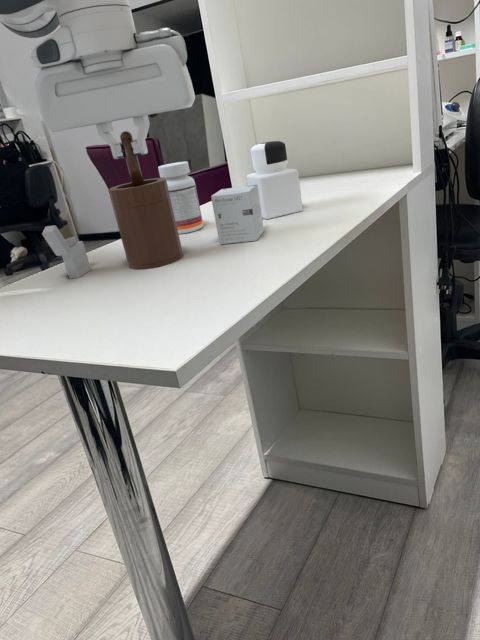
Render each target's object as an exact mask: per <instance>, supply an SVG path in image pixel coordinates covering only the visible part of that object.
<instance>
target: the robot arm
mask: <svg viewBox="0 0 480 640" xmlns="http://www.w3.org/2000/svg"><path fill="white" fill-rule="evenodd" d="M0 23H1V25H3V27H5V28H6V29H7V30H8V31H10V32H11V33H13V34H15V35H17V36H20V37H23V38H27V39H39V38H43V37H46V36H47V37H46V38H44V39H43V40H42V41H40V42H38V43H37V44H36V45H34V46H33V47H31V49H29V52H28V56H29V60H30V63H31V65H32V66H33V67H34V68H37V69H39V70H38V71H37V72H36V73H35V76H34V91H35V96H36V101H37V104H38V109H39V112H40V115H41V119H42V122H43V124H44V126H45V127H46V128H47V129H49V131H51V132H52V133H56V132H62V131H69V130H73V129H79V128H84V127H89V126H95V127H96V131H97V133H98V135H99V136H100V137H101V138H102V140H103V141H104V142H105V143H106V145H108V146H109V147H110V150H111V151H110V152H111V155H112V158H113V159H114V160H120V159H124V158H125V154H124V151H123V147H122V143H120V142H119V141H118V140H117V139H116V138H115V136H114V135H113V134H112V133H111V132H113V131H114V126H113V123H112V122H117V121H121V120H128V119H132V120H133V125H134V127H135V128H136V127H138V131H137V136H136V140H133V141H134V142H131V145H132V148H133V153H134V155H135V156H136V155H137V156H141V155H142V156H143V155H147V154H148V153H149V150H148V145H147V141H146V140H147V136H148V133H149V129H150V125H151V123H150V119H149V116H150V115H155V114H160V113H165V112H171V111H177V110H182V109H187V108H191V107H192V106H193V104H194V102H195V100H196V94H195V91H194V87H193V82H192V79H191V76H190V72H189V70H188V66H187V64H186V63H187V60H188V51H187V45H186V42H185V39H184V37H183V36H182V34H181V33H180V32H178V31H176V30H173V29H171V28H170V27H161V28H159V29H157V30H146V31H142V32H137V31H136V30H137V29H136V26H135V21H134V16H133V12H132V8H131V4H130V2H129V0H0ZM58 27H59V28H58ZM57 28H58V29H57ZM56 29H57V30H56ZM48 35H49V36H48ZM172 35H174V36H172ZM125 159H126V158H125Z"/></svg>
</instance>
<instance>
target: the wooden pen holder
mask: <svg viewBox="0 0 480 640" xmlns="http://www.w3.org/2000/svg"><path fill="white" fill-rule="evenodd" d="M143 181H144V185H141V186H135V187H133V186H132V182H130V181H129V182H127V183H122V184H118V185H116V186H112V187H110V188H108V189H107V191H108V194H109V199H110V202H111V205H112V206H111V207H112V209H113V213H114V216H115V220H116V224H117V227H118V231H119V235H120V238H121V242H122V247H123V249H124V253H125V257H126V261H127V264H128V267H129V268H130V269H133V270H146V269H154V268H159V267H163V266H166V265H171V264H173V263H175V262H177V261H179V260H180V259H182V258H183V257H184V253H183V248H182V243H181V239H180V234H178V230H177V225H176V221H175V216H174V212H173V208H172V203H171V199H170V194H169V190H168V186H167V181H166V178H160V177H155V178H147V179H143Z"/></svg>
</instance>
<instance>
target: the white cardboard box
mask: <svg viewBox="0 0 480 640" xmlns="http://www.w3.org/2000/svg"><path fill="white" fill-rule="evenodd" d="M210 198H211V205H212V209H213V216H214V221H215V225H216V226H215V227H216V232H217V237H218V244H220V245H227V244H234V243H236V244H237V243H246V242H256V241H258V240H259V239H260V237H262V236H261V235H263V233H264V231H265V228H264V222H263V221H264V220H263V218H262V213H261V206H260V199H259V192H258V185H250V186H248V185H242V186H236V187H235V186H234V187H228V188H221V189H220V190H218V191H217V192H215V193H213V194H212V195H211V196H210Z"/></svg>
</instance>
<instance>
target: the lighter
mask: <svg viewBox="0 0 480 640" xmlns="http://www.w3.org/2000/svg"><path fill="white" fill-rule="evenodd" d="M41 235H42V237H43V238H44V240H45V241H46V242H47V244H48V245H49V247H50V248H51V250H52V252H53V253H54V255H55V256H56V257H62V261H63V264H64V267H65V270H66V273H67V276H68V279H69V280H71V279H79V278H81V277H83V276H84V275H85V274H87V273H88V272H90V271H91V270H92V266H91V264H90V259H89V258H88V257H89V256H88V254H87V249H86V248H85V247H86V246H85V244H84V241H83V240H80V241H77V237H76V236H72V237H71V236H70V237H68V238H66V239H65V237H64V236H63V234H62V232H61V231H60V229H59V228H58V226H57V225H55V224H54V225H47V226H45V227H44V229H43V231H42V233H41Z"/></svg>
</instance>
